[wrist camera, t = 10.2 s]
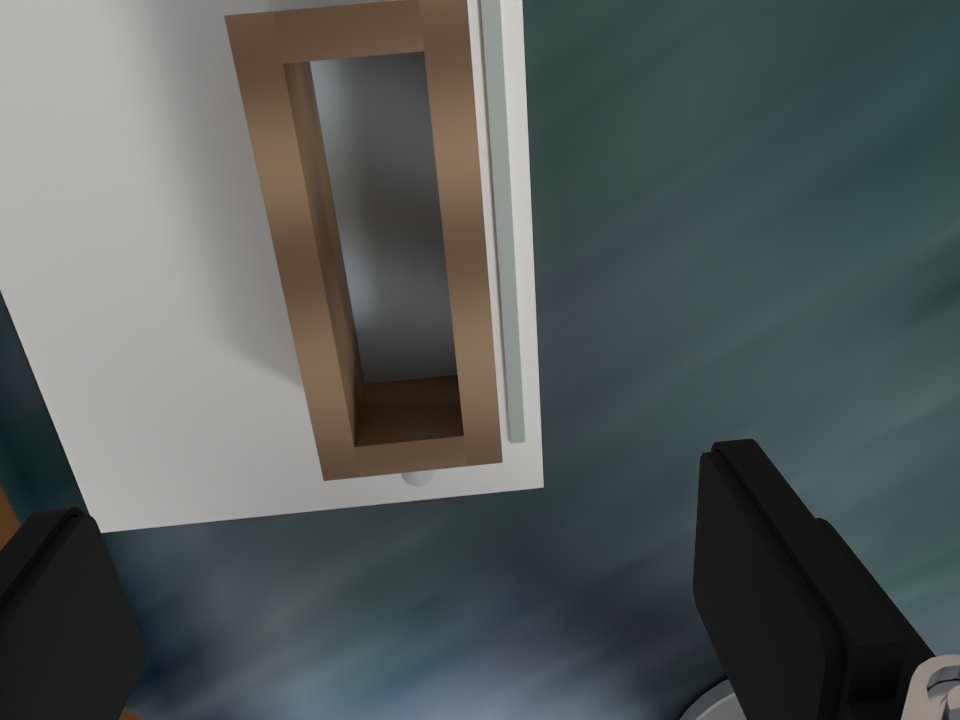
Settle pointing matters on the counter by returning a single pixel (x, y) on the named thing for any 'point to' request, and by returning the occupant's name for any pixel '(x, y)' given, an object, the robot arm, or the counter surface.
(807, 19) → the counter surface
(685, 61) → the counter surface
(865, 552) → the counter surface
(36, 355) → the wall board
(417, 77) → the frame
